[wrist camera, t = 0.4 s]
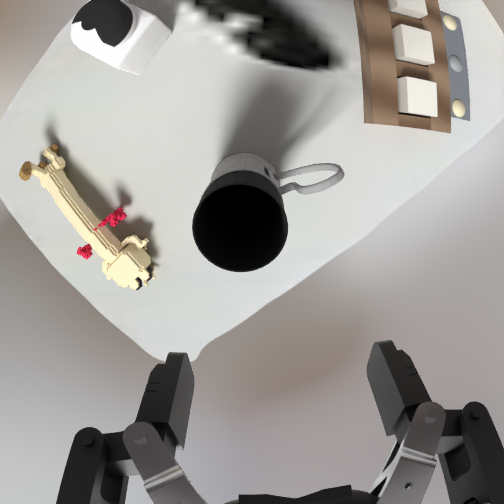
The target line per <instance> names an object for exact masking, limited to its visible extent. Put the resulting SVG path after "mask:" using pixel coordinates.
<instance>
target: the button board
mask: <svg viewBox="0 0 504 504" xmlns="http://www.w3.org/2000/svg"><path fill="white" fill-rule="evenodd" d="M425 4H426V9H427V14H428V15H426V16H424V17H422V18H420V19H415V18H411V17H407V16H403V15H399V14H395V13H391V12H389V8H388V2H387V0H354V6H355V12H356V19H357V27H358V35H359V44H360V54H361V66H362V80H363V99H364V123H371V124H383V125H394V126H403V127H412V128H420V129H427V130H434V131H440V132H446V133H451V100H450V81H449V69H448V59H447V51H446V43H445V36H444V30H443V24H442V19H441V14H440V9H439V5H438V0H425ZM400 24H403V25H407V26H411V27H415V28H418V29H422V30H425V31H429V32H431V37H432V44H433V52H434V61H435V63H434V64H429V65H424V66H421V65H417V64H412V63H408V62H403V61H398V60H395V50H394V41H393V34H392V28H394V27H396V26H398V25H400ZM406 76H407V77H412V78H417V79H422V80H426V81H431V82H435V83H436V86H437V114H438V117H432V116H422V115H416V114H409V113H401V112H398V87H397V78H401V77H406Z"/></svg>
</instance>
